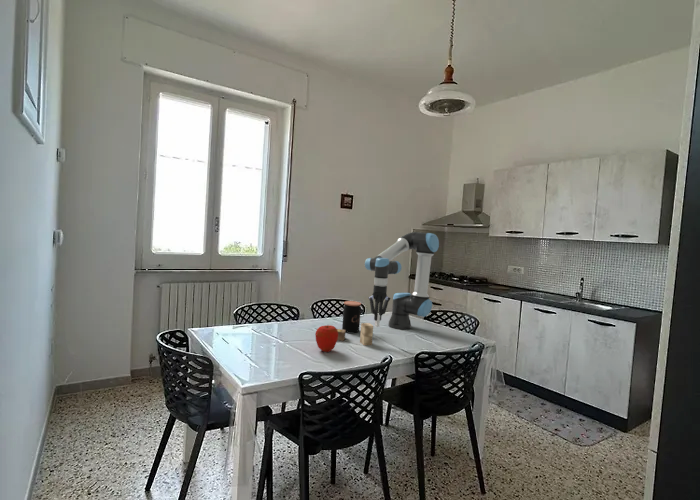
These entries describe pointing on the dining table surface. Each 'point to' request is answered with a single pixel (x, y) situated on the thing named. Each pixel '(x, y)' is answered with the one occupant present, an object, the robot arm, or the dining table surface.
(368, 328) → the beech block
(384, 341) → the dining table surface
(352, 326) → the coffee jar
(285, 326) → the dining table surface
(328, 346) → the apple
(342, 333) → the walnut block
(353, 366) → the dining table surface
